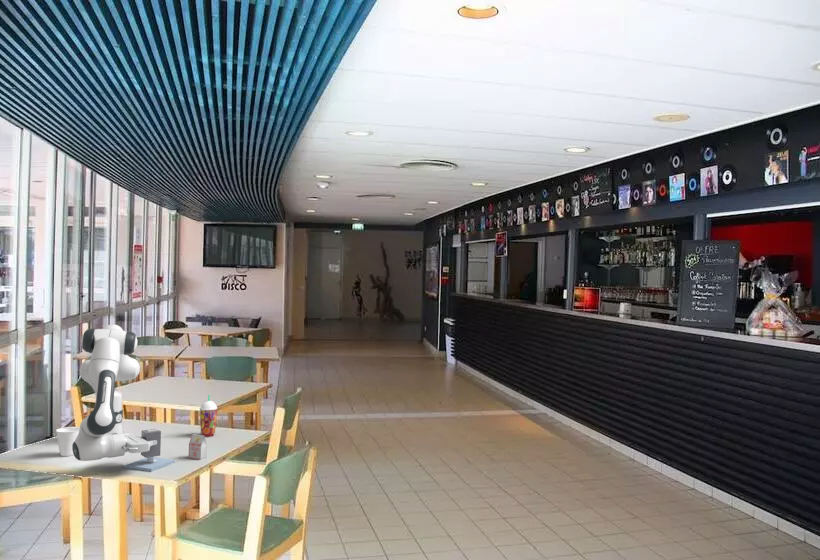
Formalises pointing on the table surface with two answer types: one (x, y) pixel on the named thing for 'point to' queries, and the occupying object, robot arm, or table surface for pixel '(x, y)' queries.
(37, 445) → the table surface
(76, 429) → the cup
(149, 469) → the panel
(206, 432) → the smoothie
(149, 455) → the tall gray block
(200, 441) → the white paper bag
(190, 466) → the table surface
